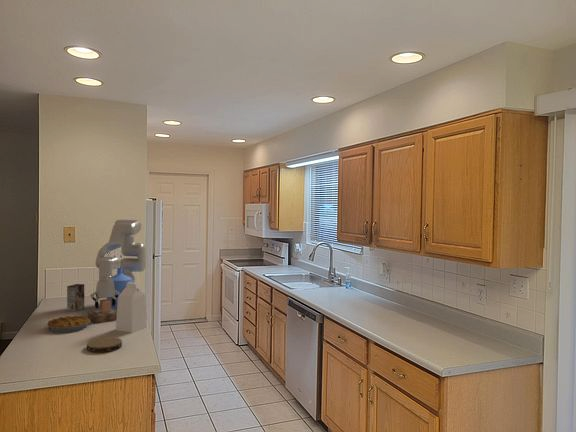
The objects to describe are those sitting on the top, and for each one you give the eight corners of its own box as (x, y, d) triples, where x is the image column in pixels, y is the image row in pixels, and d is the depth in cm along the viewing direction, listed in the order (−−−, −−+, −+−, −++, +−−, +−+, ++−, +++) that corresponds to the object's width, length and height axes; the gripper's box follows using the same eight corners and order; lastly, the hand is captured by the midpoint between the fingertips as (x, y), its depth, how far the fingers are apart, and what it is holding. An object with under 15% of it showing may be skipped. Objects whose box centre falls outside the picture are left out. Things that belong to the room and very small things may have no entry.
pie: (96, 328, 249) (96, 319, 249) (55, 336, 233) (55, 326, 232) (80, 320, 264) (80, 312, 263) (41, 327, 247) (41, 318, 247)
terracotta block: (108, 310, 271) (108, 298, 271) (110, 311, 267) (111, 300, 267) (99, 311, 268) (99, 299, 268) (102, 313, 264) (102, 301, 264)
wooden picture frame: (114, 314, 278) (114, 307, 278) (122, 319, 267) (122, 312, 267) (87, 318, 268) (87, 311, 268) (94, 323, 257) (95, 315, 257)
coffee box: (76, 307, 294) (76, 283, 293) (84, 308, 292) (84, 284, 292) (66, 310, 285) (66, 286, 284) (75, 311, 283) (75, 286, 283)
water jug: (100, 311, 285) (101, 268, 284) (118, 306, 299) (119, 265, 298) (119, 314, 279) (120, 270, 278) (136, 309, 293) (137, 267, 292)
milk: (146, 327, 251) (147, 282, 251) (131, 332, 241) (132, 285, 240) (131, 324, 256) (131, 280, 256) (115, 329, 246) (116, 283, 245)
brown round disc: (107, 341, 227) (108, 335, 227) (128, 346, 219) (128, 340, 219) (79, 349, 213) (79, 343, 213) (100, 356, 205) (100, 349, 205)
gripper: (117, 276, 275) (117, 303, 276) (88, 279, 264) (88, 307, 265) (122, 278, 270) (121, 306, 270) (92, 281, 258) (92, 310, 259)
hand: (105, 306), depth 267 cm, fingers open, 9 cm apart
